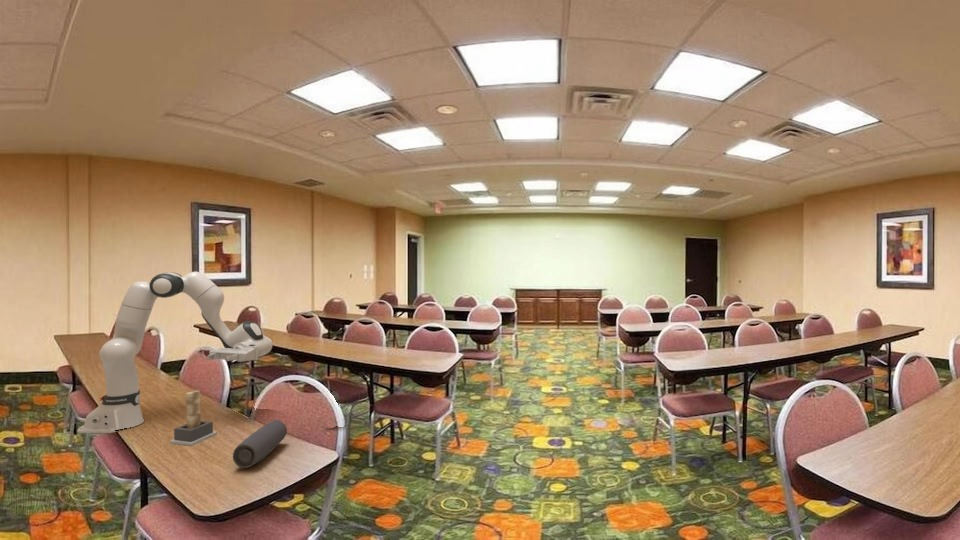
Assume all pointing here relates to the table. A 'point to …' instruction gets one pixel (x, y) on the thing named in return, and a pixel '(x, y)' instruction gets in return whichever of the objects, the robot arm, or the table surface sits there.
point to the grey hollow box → (193, 434)
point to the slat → (193, 409)
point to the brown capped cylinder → (334, 394)
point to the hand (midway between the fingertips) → (217, 358)
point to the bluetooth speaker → (259, 444)
